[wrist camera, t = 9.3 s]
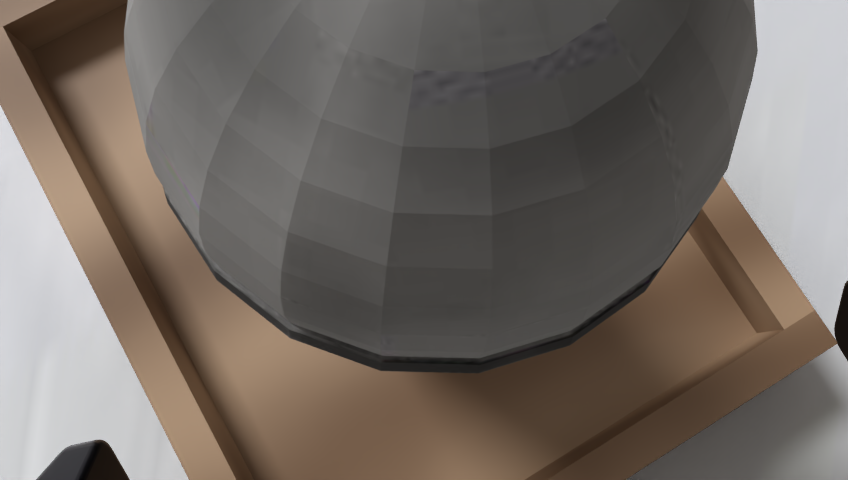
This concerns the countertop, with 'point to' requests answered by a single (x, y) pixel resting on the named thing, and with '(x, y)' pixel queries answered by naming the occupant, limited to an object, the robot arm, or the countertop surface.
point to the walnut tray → (356, 383)
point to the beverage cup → (438, 159)
